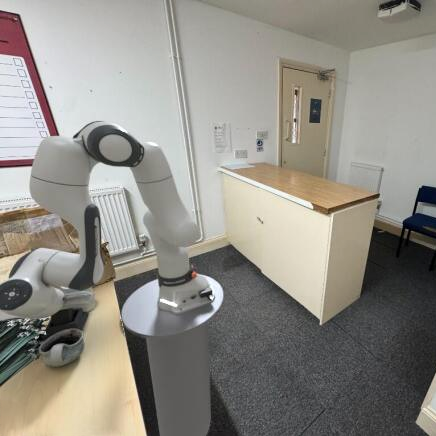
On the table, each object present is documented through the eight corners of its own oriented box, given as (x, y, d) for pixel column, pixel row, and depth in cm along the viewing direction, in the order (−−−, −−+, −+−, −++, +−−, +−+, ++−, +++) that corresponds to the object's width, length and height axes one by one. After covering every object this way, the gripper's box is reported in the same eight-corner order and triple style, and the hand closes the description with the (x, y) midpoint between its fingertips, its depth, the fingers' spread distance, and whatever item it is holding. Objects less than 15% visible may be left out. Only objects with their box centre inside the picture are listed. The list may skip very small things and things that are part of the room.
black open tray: (88, 314, 88) (86, 306, 87) (82, 332, 81) (79, 323, 80) (52, 321, 84) (50, 313, 82) (42, 341, 76) (39, 332, 75)
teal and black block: (74, 313, 84) (69, 292, 81) (70, 322, 80) (65, 301, 77) (58, 316, 82) (52, 295, 79) (53, 325, 78) (47, 304, 75)
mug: (85, 339, 78) (79, 316, 75) (91, 366, 70) (84, 341, 67) (44, 356, 72) (36, 331, 68) (45, 387, 64) (35, 361, 60)
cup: (100, 302, 94) (95, 277, 90) (80, 317, 87) (73, 290, 83) (83, 299, 95) (77, 274, 91) (61, 312, 88) (54, 286, 84)
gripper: (88, 284, 74) (100, 291, 86) (-6, 299, 65) (21, 304, 76) (87, 304, 72) (99, 309, 84) (-10, 322, 63) (18, 325, 74)
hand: (61, 307), depth 80 cm, fingers closed on teal and black block, 4 cm apart
